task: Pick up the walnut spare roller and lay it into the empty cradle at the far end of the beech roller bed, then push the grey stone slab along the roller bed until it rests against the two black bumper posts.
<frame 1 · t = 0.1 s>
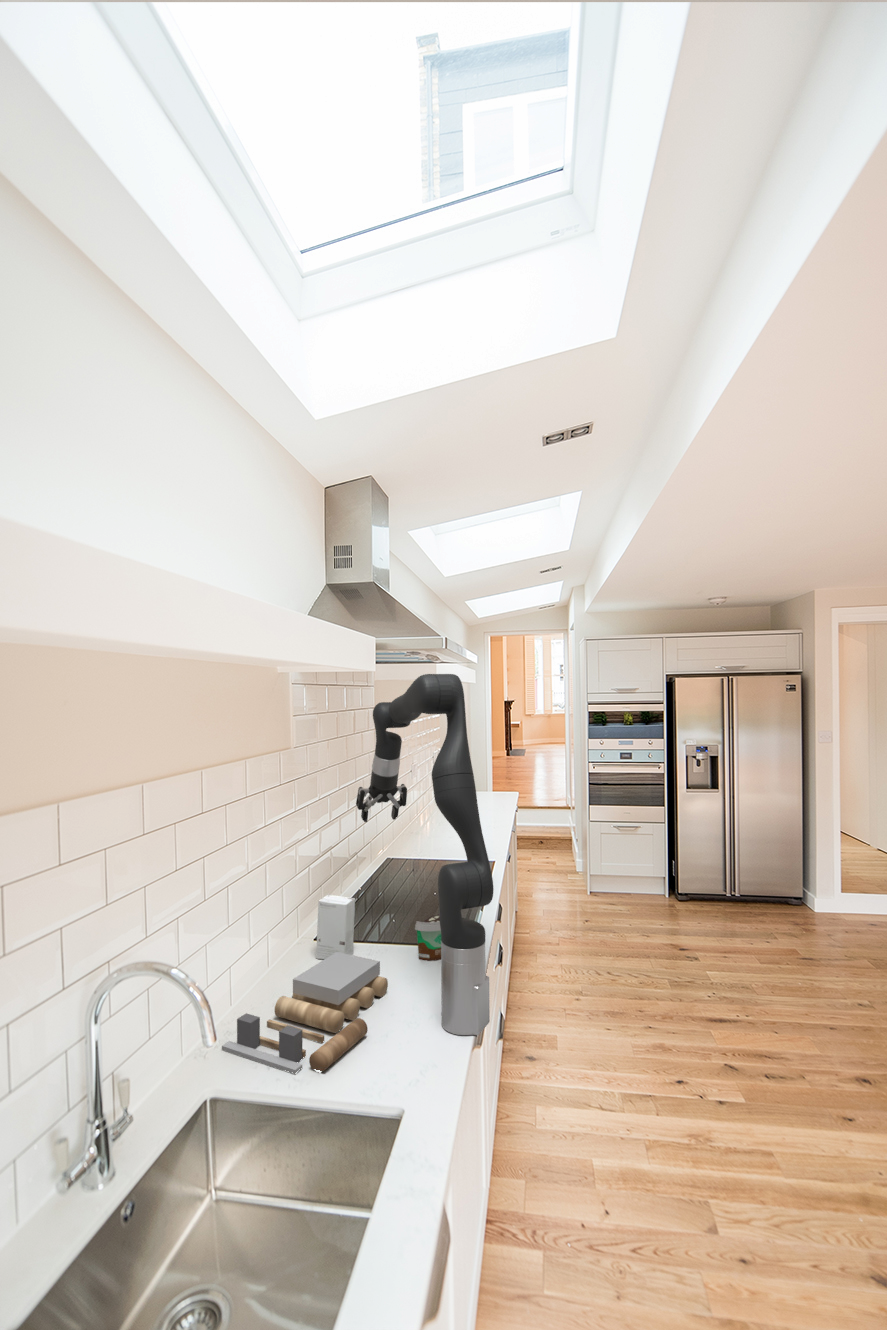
hand: (379, 819, 191), 31 cm above the counter, tool tilted 20°, fingers open, 8 cm apart
slab: (337, 976, 148), point 6 cm above the counter, slide at 0.0 cm
spare roller: (339, 1053, 128), on the counter
skincare box: (335, 957, 173), on the counter
bumper posts: (269, 1053, 128), on the counter
food container: (439, 956, 173), on the counter
roller bed: (348, 994, 152), on the counter
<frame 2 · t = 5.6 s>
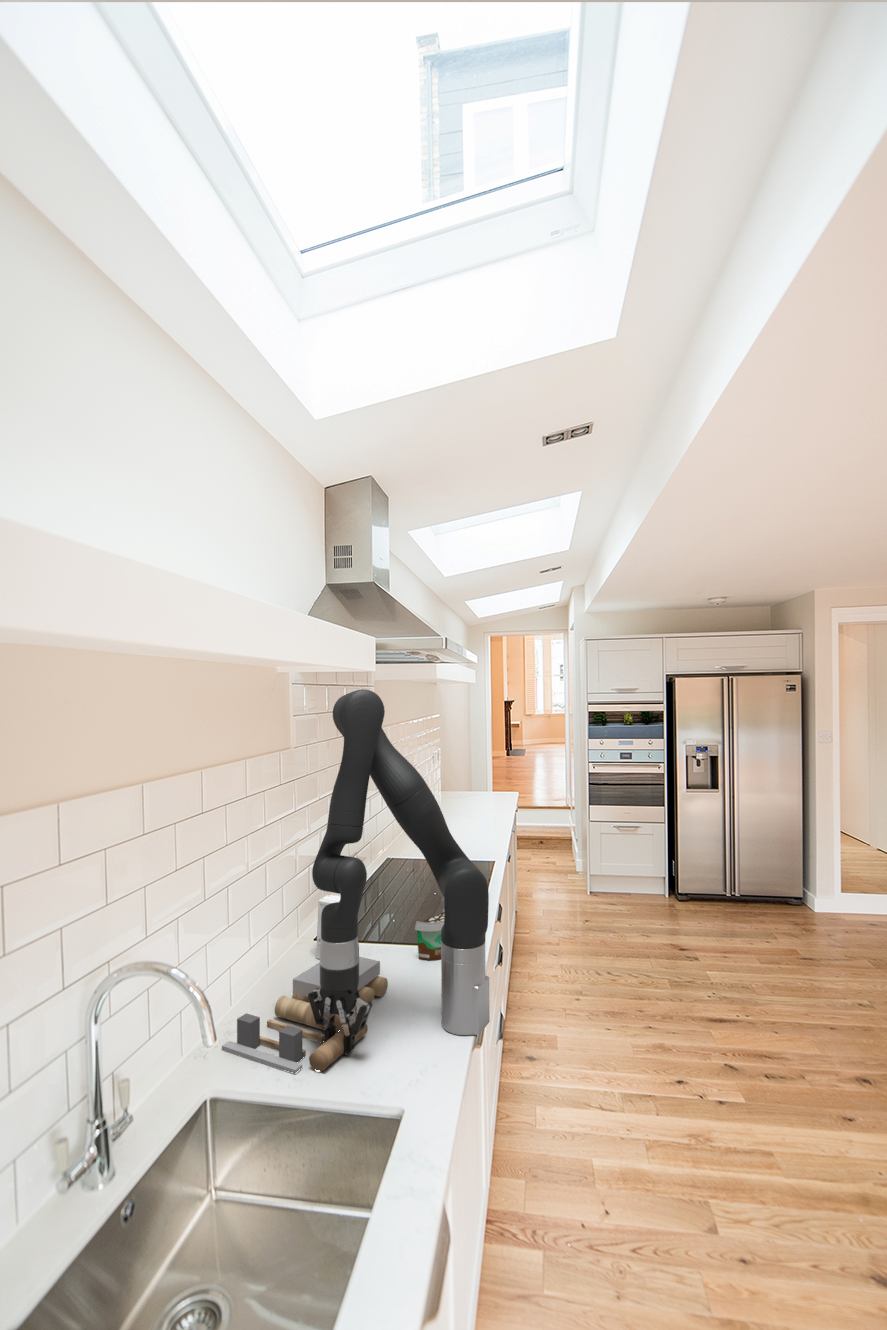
hand: (339, 1049, 128), 1 cm above the counter, tool pointing down, fingers closed on spare roller, 3 cm apart
spare roller: (340, 1052, 128), on the counter, touching gripper
everything else where it was.
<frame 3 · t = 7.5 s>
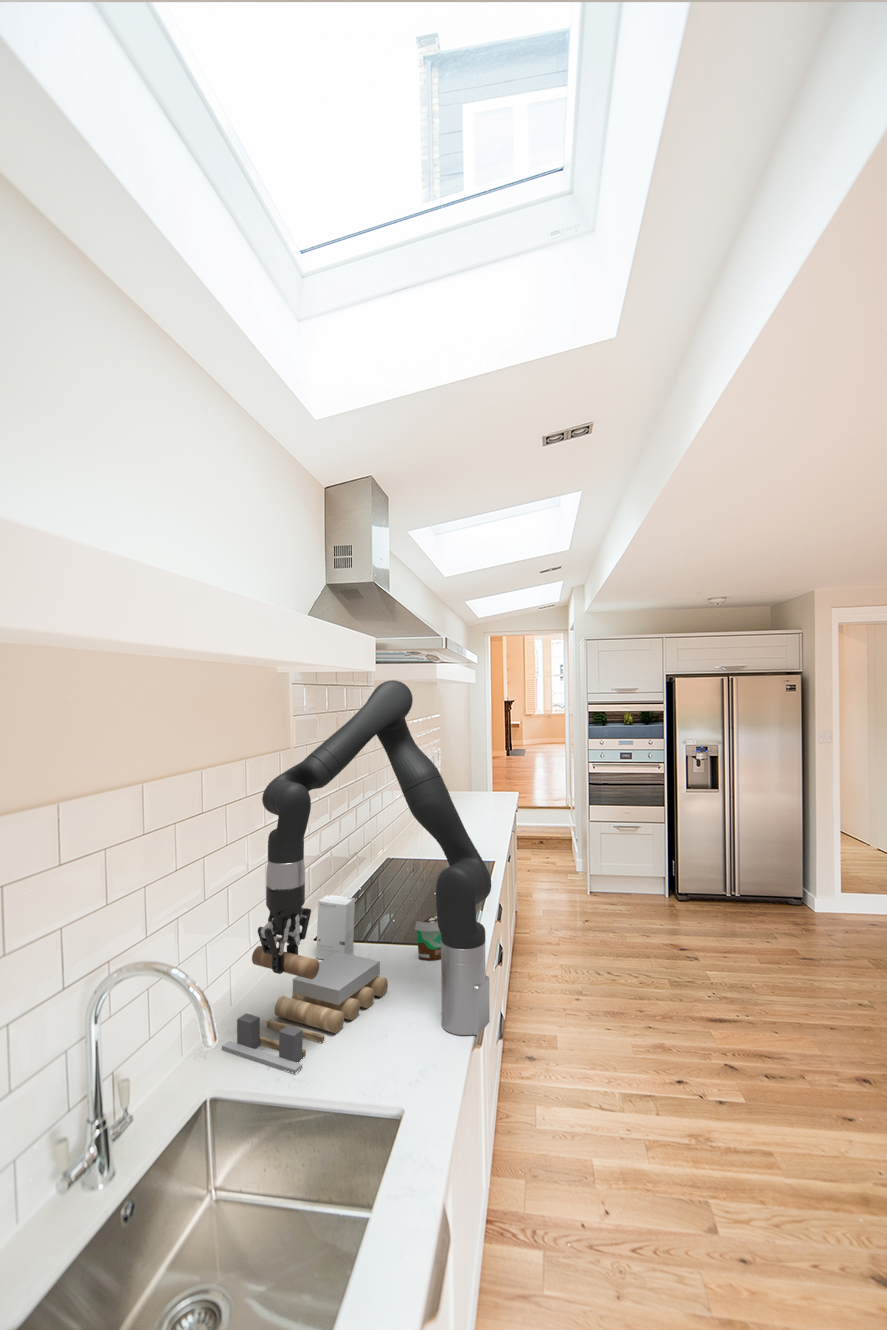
hand: (285, 968, 133), 14 cm above the counter, tool pointing down, fingers closed on spare roller, 3 cm apart
spare roller: (285, 971, 133), point 14 cm above the counter, touching gripper
everything else where it was.
when the fingers open (2 cm above the counter, at t = 9.8 s): spare roller drops 1 cm, on the counter.
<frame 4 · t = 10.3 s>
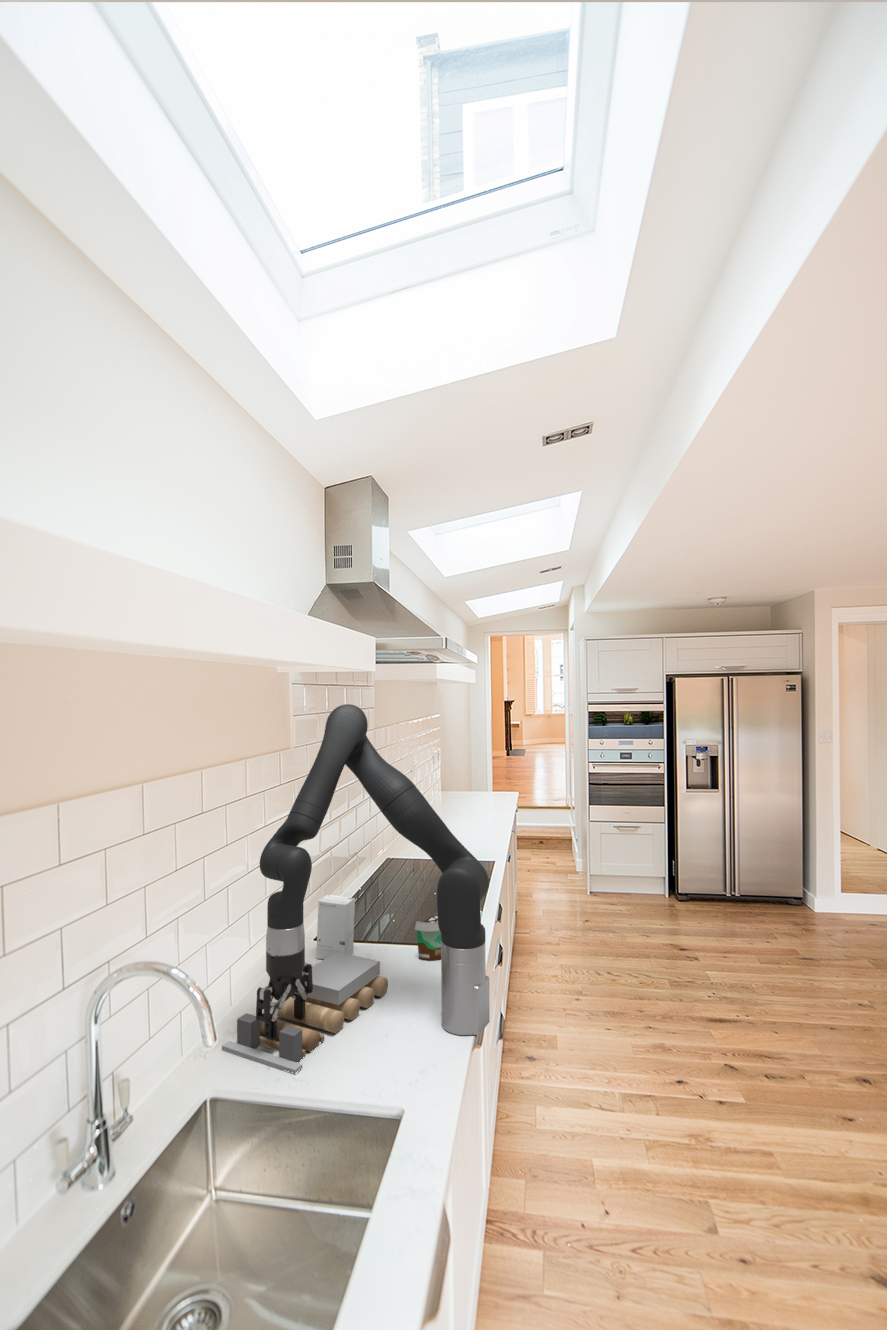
hand: (285, 1028, 133), 2 cm above the counter, tool pointing down, fingers open, 8 cm apart
spare roller: (285, 1042, 133), on the counter
everything else where it was.
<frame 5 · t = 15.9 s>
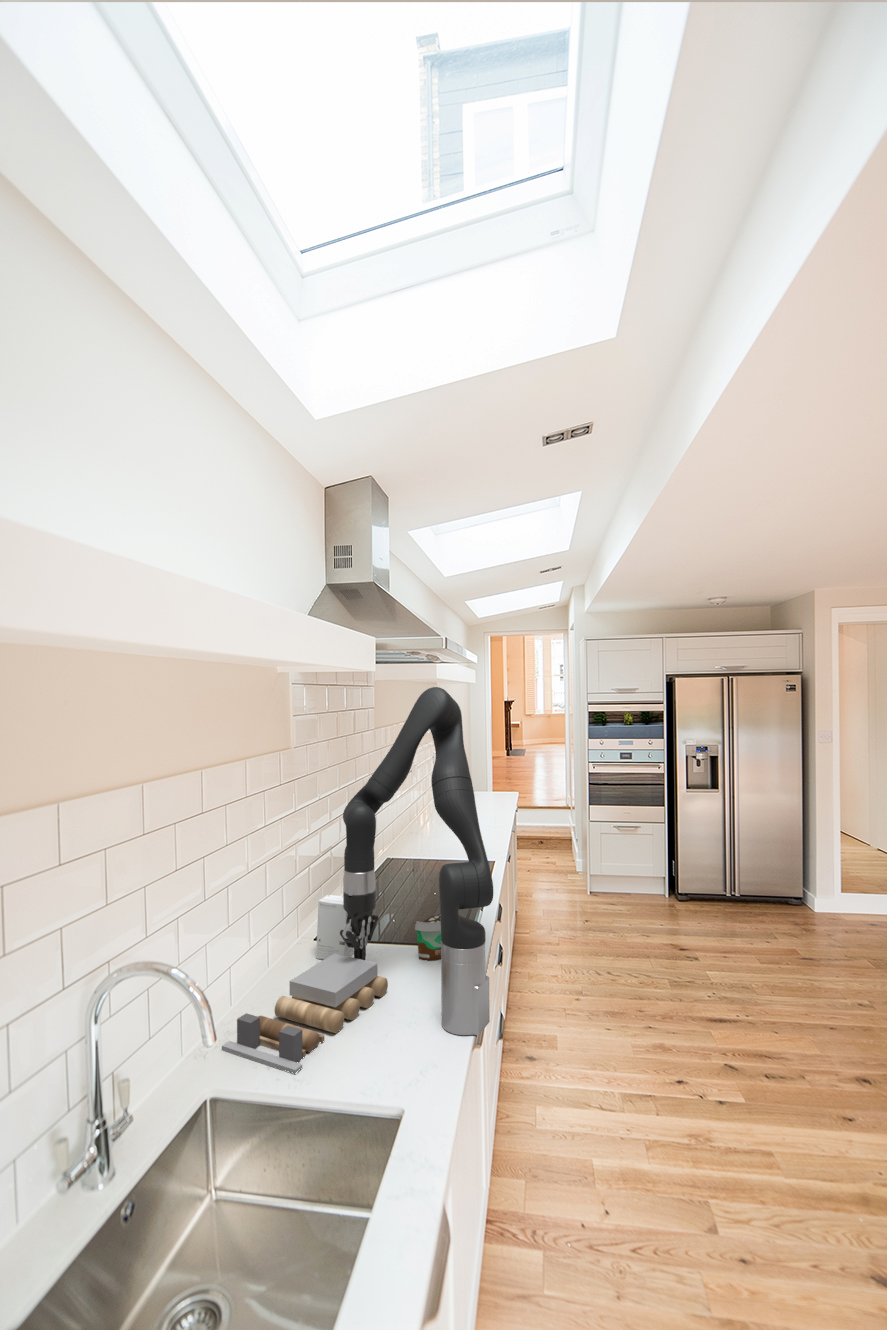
hand: (359, 962, 156), 5 cm above the counter, tool pointing down, fingers closed
slab: (334, 978, 147), point 6 cm above the counter, slide at 1.1 cm, touching gripper
spare roller: (285, 1042, 133), on the counter, tilted 7°
everything else where it was.
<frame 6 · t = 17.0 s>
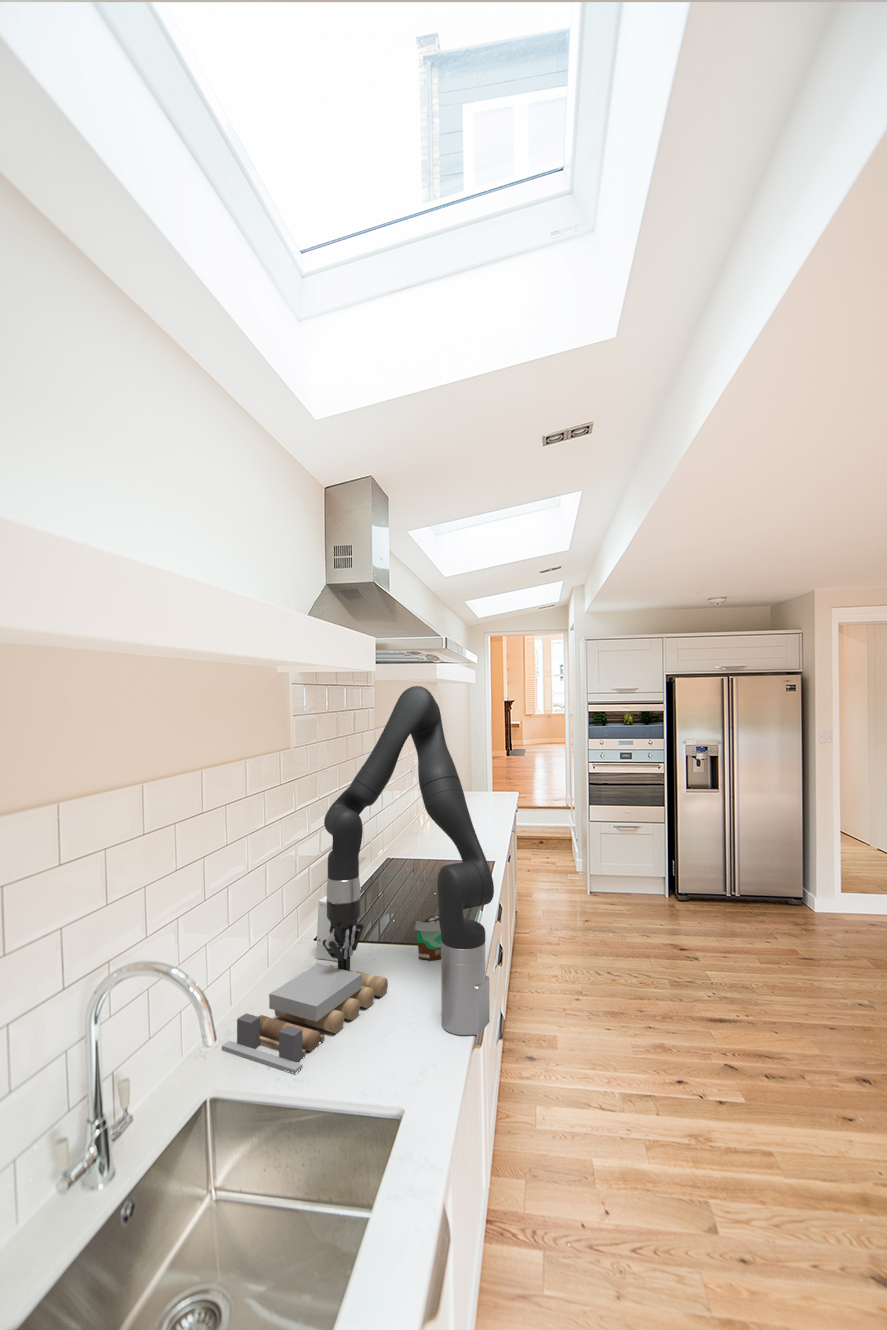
hand: (344, 973, 150), 5 cm above the counter, tool pointing down, fingers closed
slab: (316, 990, 142), point 6 cm above the counter, slide at 7.4 cm, touching gripper
spare roller: (285, 1042, 133), on the counter
everything else where it was.
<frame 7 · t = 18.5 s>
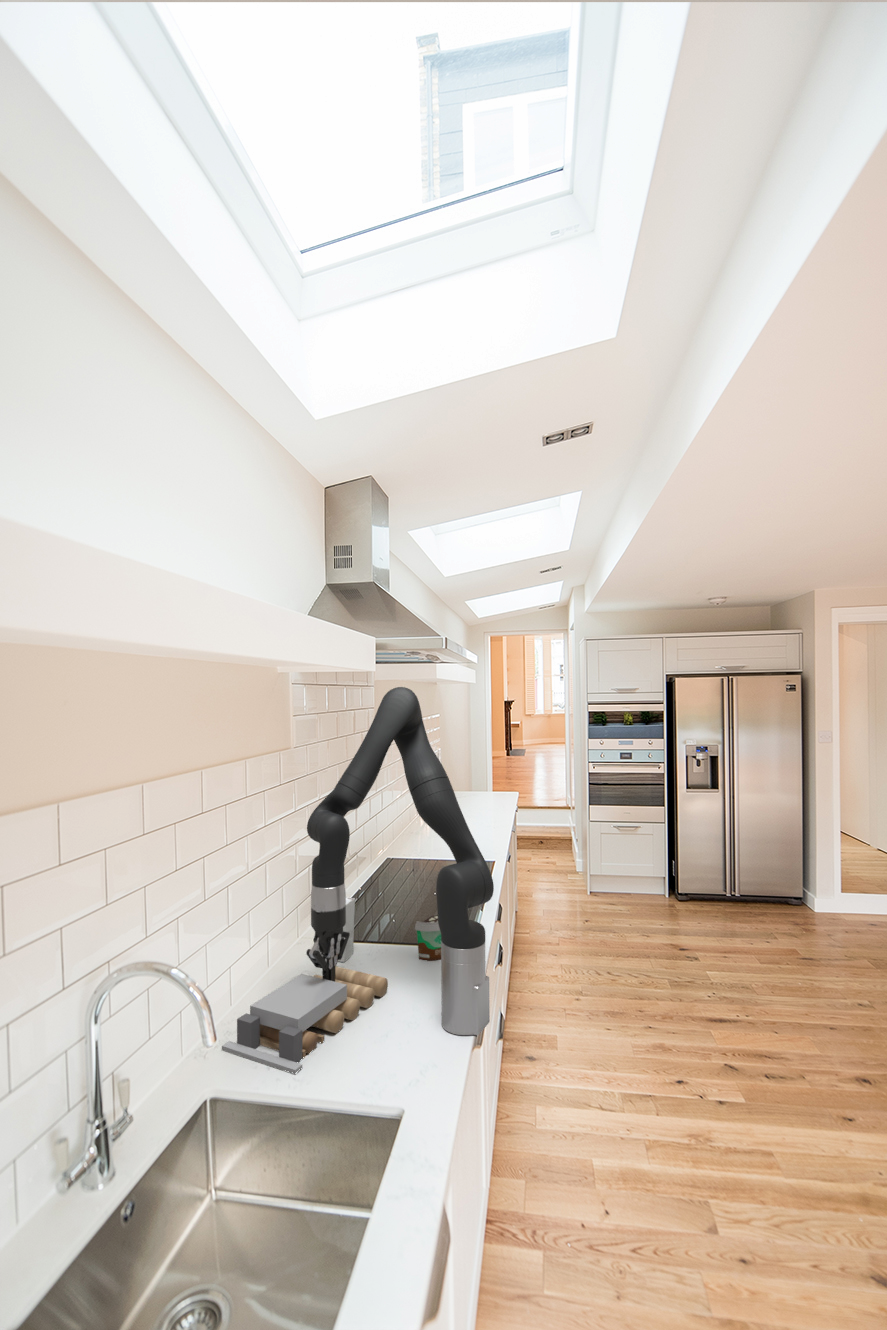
hand: (329, 983, 145), 5 cm above the counter, tool pointing down, fingers closed
slab: (300, 1002, 137), point 6 cm above the counter, slide at 13.0 cm, touching bumper posts, gripper
spare roller: (285, 1041, 133), on the counter, tilted 24°
everything else where it was.
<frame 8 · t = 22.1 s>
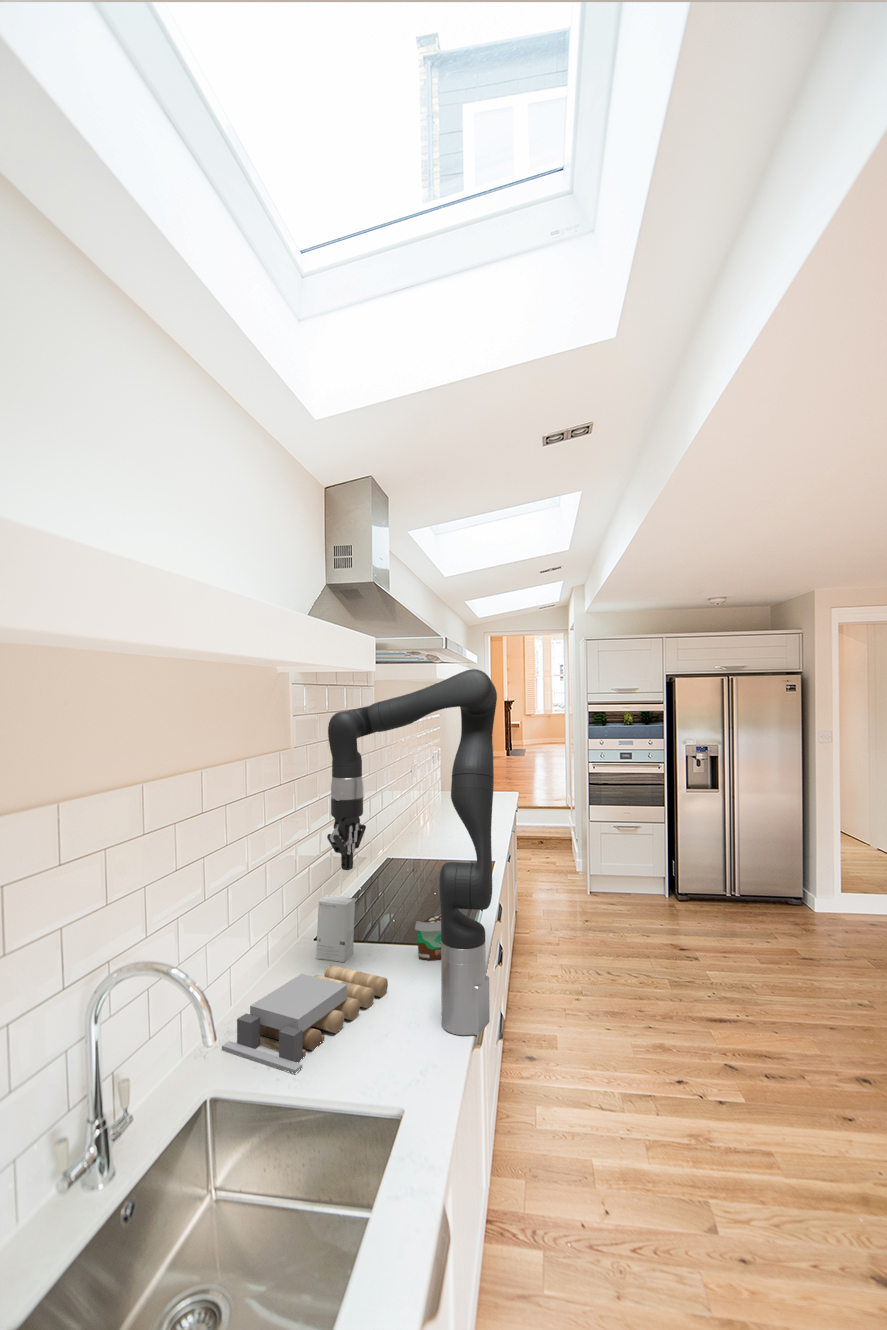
hand: (347, 869, 157), 27 cm above the counter, tool pointing down, fingers closed
slab: (300, 1002, 137), point 6 cm above the counter, slide at 13.0 cm
at the end: slab slide at 13.0 cm; spare roller inside the target area (0.0 cm from its centre), on the counter; the gripper is holding nothing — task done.
